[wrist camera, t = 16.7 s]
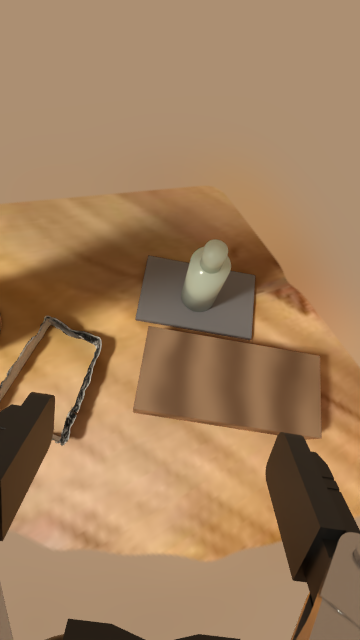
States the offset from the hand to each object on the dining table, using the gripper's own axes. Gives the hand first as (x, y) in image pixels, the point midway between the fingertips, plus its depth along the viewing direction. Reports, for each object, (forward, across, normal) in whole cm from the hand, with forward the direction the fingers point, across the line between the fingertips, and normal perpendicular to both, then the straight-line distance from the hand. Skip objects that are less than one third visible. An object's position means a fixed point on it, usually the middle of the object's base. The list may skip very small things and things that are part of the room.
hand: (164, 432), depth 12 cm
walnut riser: (+28, -9, +16) cm, 33 cm away
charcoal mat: (+36, -4, +7) cm, 37 cm away
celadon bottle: (+36, -4, +7) cm, 37 cm away
